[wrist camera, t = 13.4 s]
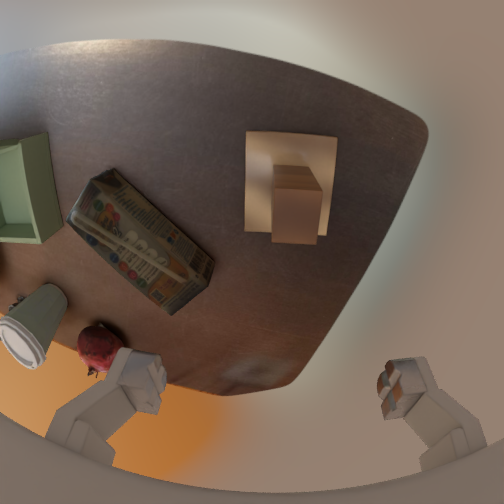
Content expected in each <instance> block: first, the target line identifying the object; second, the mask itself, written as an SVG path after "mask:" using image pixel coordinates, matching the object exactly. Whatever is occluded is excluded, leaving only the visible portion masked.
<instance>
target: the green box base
mask: <svg viewBox="0 0 504 504" xmlns="http://www.w3.org/2000/svg"><path fill="white" fill-rule="evenodd" d="M62 227H63V222H62V217H61V213H60V209H59V204H58V199H57V194H56V189H55V183H54V177H53V171H52V164H51V157H50V149H49V139H48V132H46V133H42V134H38V135H35V136H31V137H28V138H24V139H21V140H18V145H15V146H12V147H8V148H5V149H2V150H0V242H13V243H31V244H42V243H44V242H45V241H46V240H47V239H48V238H49V237H51V236H52V235H53V234H54V233H55V232H57V231H58V230H59V229H60V228H62Z"/></svg>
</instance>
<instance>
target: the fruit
mask: <svg viewBox="0 0 504 504" xmlns="http://www.w3.org/2000/svg"><path fill="white" fill-rule="evenodd" d="M121 347H124V345H123V342H122V341H121V340H120V339H119V338H118V337H117V336H116V335H114V334H113V333H112V332H110V331H109V330H108V329H106V328H105V327H104V326H103V325H102V324H101V323H99V325H98V326H89V327H86V328H84V329H83V330H82V331H81V333H80V334H79V337H78V341H77V349H78V353H79V356H80V358H81V360H82V361H83V362H84V363H85V364H86V365H87V366H88V367H89V372H88V376H89V375H92V374H93V373H95V372H97V375H98V372H105V373H108V371H109V369H110V367H111V365H112V362H113V360H114V358H115V356H116V354H117V352H118V350H119V349H120V348H121ZM97 375H96V378H97Z"/></svg>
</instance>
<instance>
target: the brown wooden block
mask: <svg viewBox="0 0 504 504" xmlns="http://www.w3.org/2000/svg"><path fill="white" fill-rule="evenodd" d="M322 197H323V190H322V189H321V187H320V185H319V183H318V182H317V180H316V178H315V176H314V175H313V173H312V171H311V169H310V168H309V167H306V166H292V165H275V164H274V165H273V177H272V198H271V242H275V243H295V244H316V243H317V236H318V228H319V221H320V213H321V205H322Z"/></svg>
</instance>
